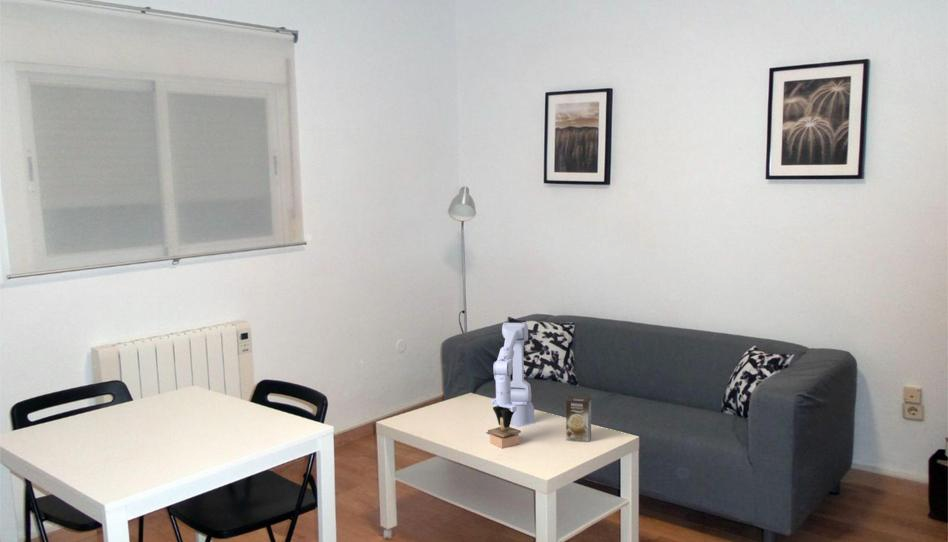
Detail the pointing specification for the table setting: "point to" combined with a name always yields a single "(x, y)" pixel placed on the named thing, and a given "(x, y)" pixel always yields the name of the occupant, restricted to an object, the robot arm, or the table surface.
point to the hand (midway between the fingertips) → (504, 425)
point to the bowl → (504, 440)
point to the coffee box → (578, 419)
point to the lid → (503, 430)
